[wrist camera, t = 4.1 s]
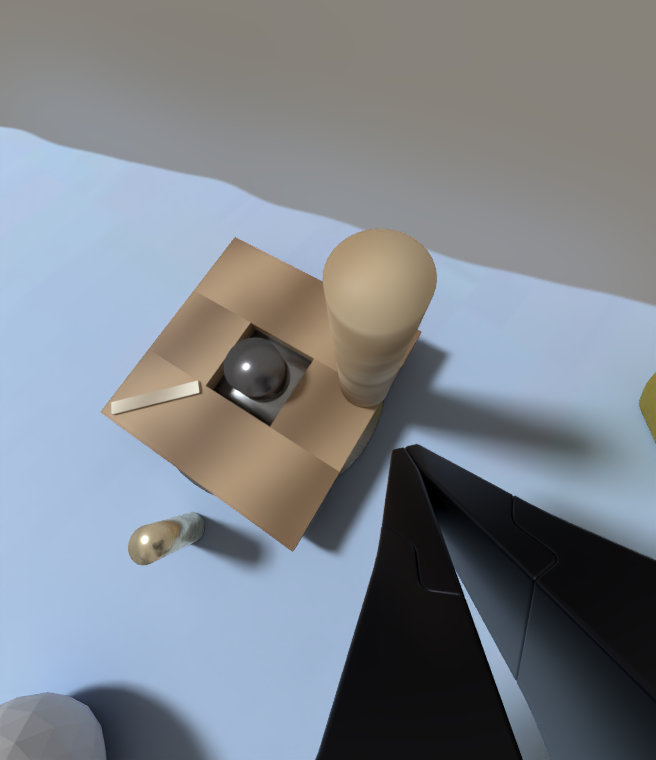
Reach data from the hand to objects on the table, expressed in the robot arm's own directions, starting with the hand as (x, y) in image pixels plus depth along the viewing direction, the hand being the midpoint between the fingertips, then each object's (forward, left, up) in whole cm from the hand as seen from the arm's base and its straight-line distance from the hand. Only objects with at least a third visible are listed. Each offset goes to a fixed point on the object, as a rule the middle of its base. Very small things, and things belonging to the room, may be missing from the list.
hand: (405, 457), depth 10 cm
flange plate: (+8, 0, -7) cm, 11 cm away
